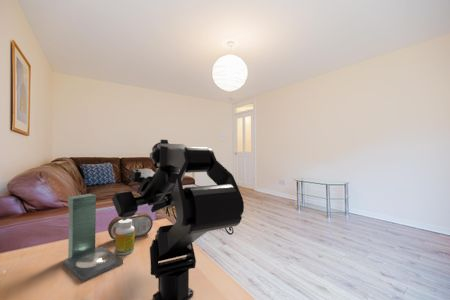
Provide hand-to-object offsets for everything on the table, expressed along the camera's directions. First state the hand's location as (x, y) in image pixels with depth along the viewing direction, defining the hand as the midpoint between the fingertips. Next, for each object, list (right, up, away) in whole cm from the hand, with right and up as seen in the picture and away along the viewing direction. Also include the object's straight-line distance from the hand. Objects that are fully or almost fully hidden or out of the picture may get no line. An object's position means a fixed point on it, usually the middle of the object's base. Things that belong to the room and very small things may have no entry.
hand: (138, 214), depth 60 cm
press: (-16, -13, 0) cm, 20 cm away
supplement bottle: (-6, -13, +4) cm, 15 cm away
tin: (-9, -13, +14) cm, 21 cm away
